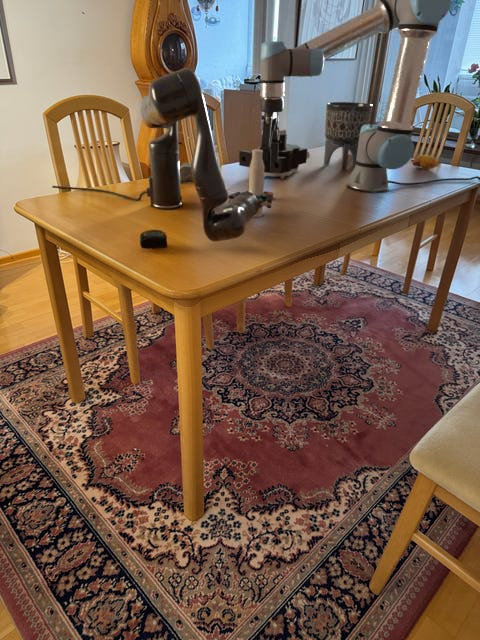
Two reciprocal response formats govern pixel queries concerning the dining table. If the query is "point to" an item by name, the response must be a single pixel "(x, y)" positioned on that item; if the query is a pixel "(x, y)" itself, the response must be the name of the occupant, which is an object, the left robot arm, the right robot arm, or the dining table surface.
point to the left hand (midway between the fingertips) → (257, 193)
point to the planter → (344, 129)
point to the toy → (425, 162)
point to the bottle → (256, 176)
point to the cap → (270, 194)
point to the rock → (185, 173)
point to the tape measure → (153, 239)
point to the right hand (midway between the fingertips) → (270, 166)
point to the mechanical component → (280, 157)
